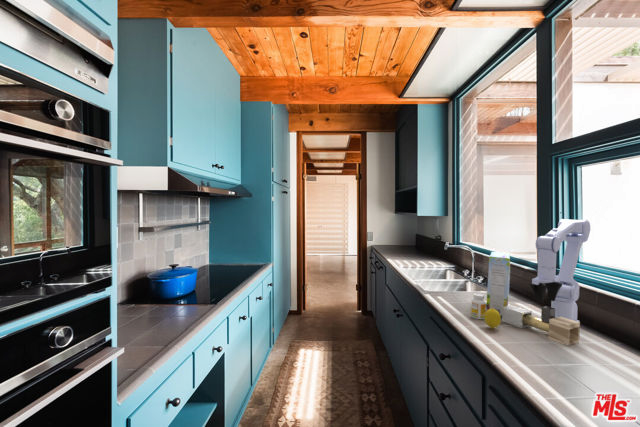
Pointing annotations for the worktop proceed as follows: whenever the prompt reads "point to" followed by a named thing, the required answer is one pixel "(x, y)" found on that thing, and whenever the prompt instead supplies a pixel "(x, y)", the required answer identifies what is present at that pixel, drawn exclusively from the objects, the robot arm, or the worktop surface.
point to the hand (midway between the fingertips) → (545, 301)
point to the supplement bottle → (478, 306)
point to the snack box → (498, 281)
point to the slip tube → (540, 323)
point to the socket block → (564, 330)
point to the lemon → (492, 318)
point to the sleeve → (515, 315)
